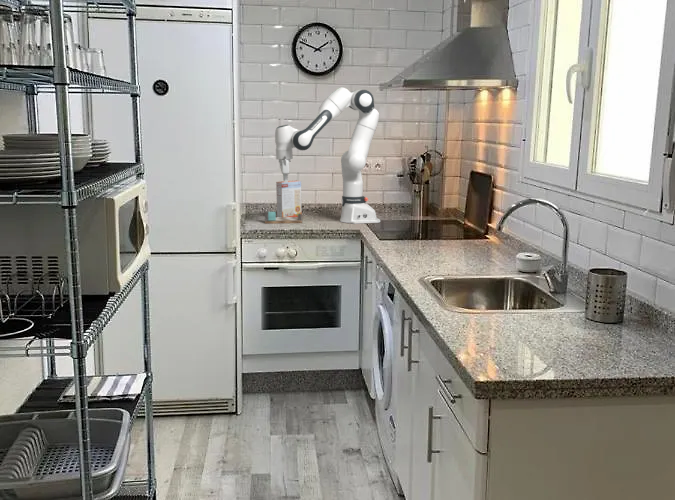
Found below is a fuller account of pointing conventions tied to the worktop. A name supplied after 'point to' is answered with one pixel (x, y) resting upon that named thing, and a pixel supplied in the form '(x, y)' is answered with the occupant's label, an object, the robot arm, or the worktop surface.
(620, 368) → the worktop surface
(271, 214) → the teal slider block
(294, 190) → the cracker box
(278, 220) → the track
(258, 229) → the worktop surface
